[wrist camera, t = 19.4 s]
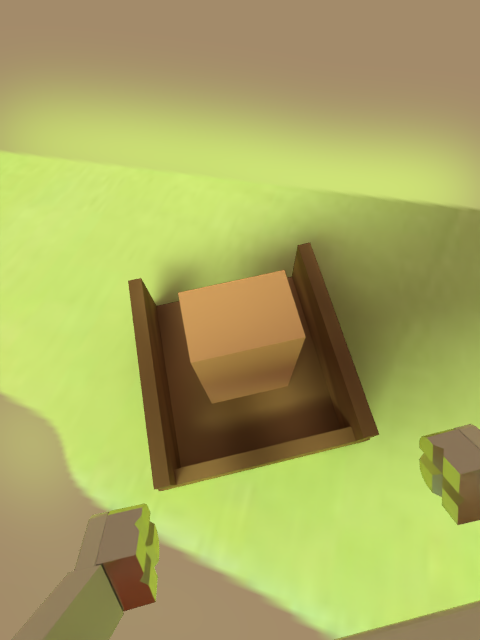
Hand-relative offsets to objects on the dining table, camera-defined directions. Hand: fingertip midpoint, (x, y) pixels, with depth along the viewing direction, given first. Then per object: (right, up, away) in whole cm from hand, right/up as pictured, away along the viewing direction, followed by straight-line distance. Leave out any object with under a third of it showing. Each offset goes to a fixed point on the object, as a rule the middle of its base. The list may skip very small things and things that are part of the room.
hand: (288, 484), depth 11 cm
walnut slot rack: (-1, +1, +15) cm, 15 cm away
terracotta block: (-1, +1, +14) cm, 14 cm away
